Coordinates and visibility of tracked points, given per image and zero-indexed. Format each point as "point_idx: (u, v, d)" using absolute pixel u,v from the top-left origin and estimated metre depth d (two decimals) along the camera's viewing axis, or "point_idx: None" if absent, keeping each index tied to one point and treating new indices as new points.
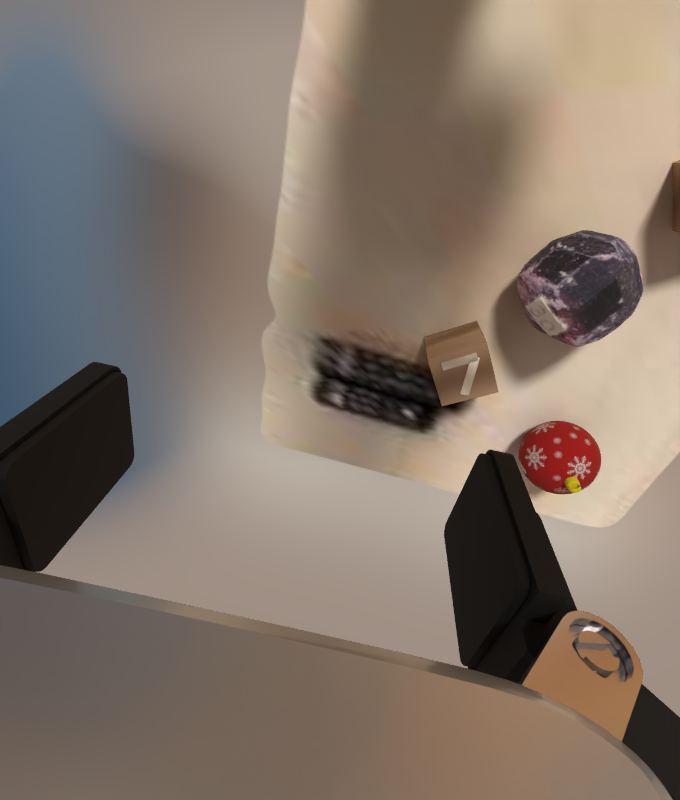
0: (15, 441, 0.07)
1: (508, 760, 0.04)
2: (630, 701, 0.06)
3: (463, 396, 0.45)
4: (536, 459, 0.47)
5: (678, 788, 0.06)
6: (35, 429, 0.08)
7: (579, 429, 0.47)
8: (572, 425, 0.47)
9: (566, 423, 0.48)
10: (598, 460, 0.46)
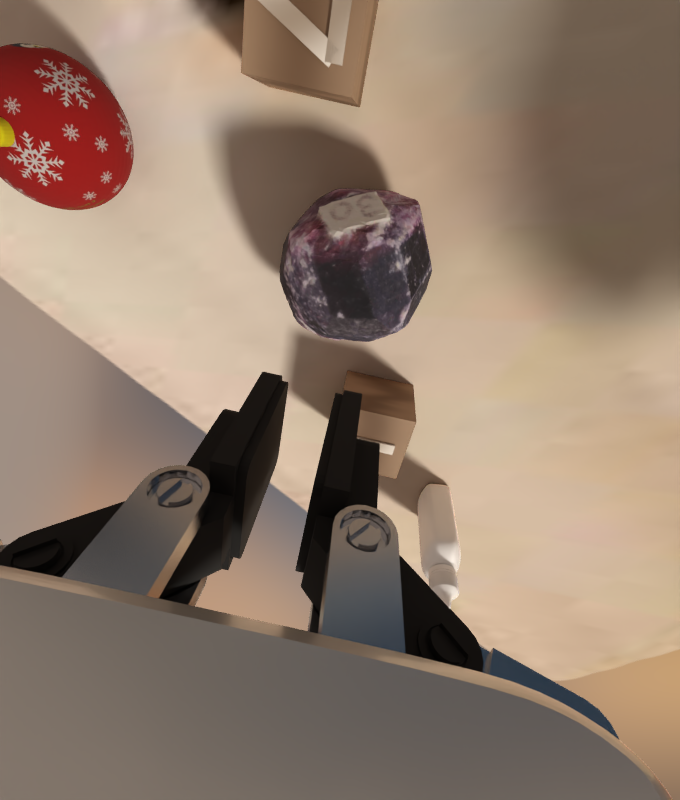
0: (247, 443, 0.08)
1: (508, 759, 0.04)
2: (396, 556, 0.07)
3: None
4: (60, 82, 0.22)
5: None
6: (253, 433, 0.09)
7: (113, 192, 0.27)
8: (122, 184, 0.28)
9: (127, 176, 0.28)
10: (47, 200, 0.26)
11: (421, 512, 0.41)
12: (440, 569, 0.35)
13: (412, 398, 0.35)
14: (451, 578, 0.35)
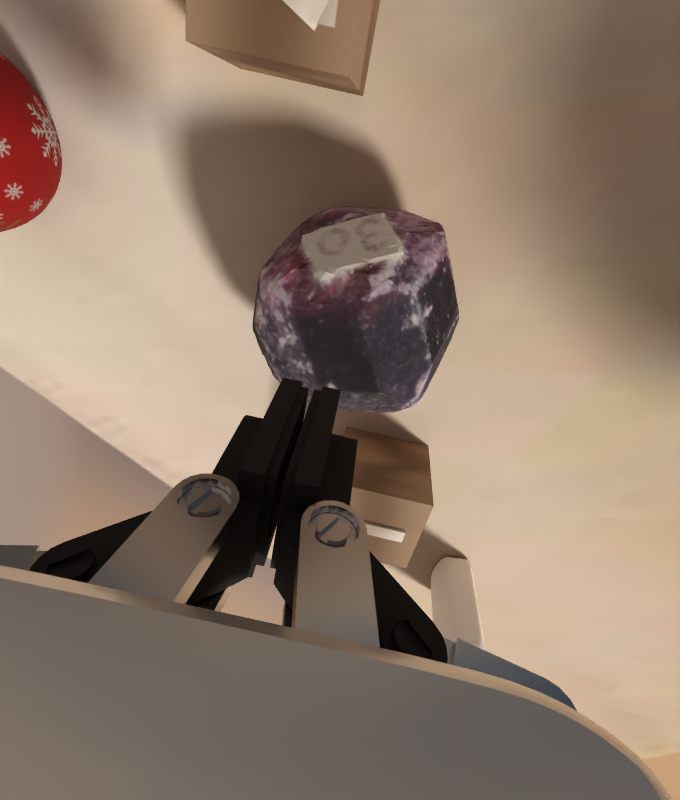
0: (274, 451, 0.08)
1: (508, 760, 0.04)
2: (366, 549, 0.07)
3: None
4: None
5: None
6: (279, 440, 0.09)
7: (31, 210, 0.20)
8: (44, 199, 0.21)
9: (52, 189, 0.21)
10: None
11: (436, 594, 0.34)
12: None
13: (427, 467, 0.28)
14: None
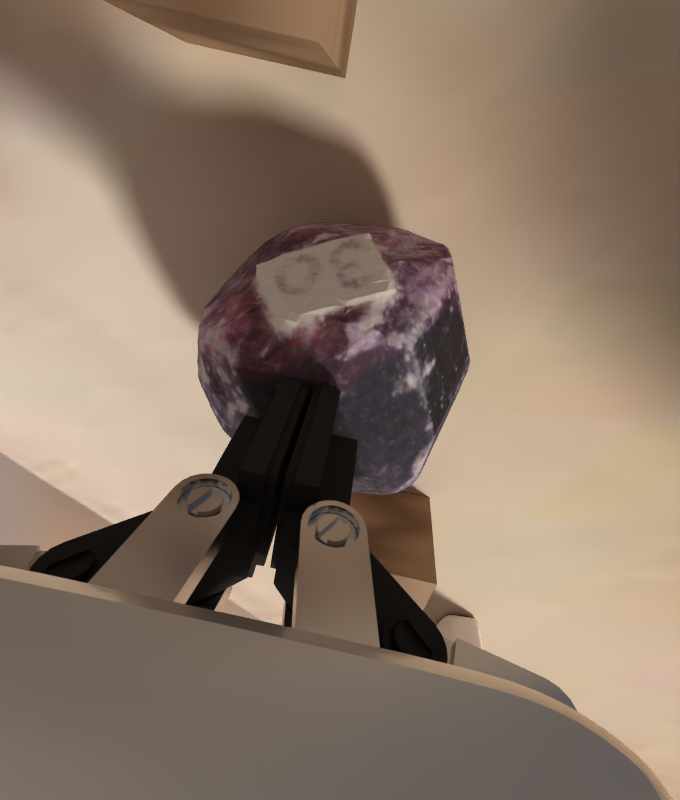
0: (274, 451, 0.08)
1: (508, 759, 0.04)
2: (366, 549, 0.07)
3: None
4: None
5: None
6: (278, 440, 0.09)
7: None
8: None
9: None
10: None
11: None
12: None
13: (429, 527, 0.23)
14: None
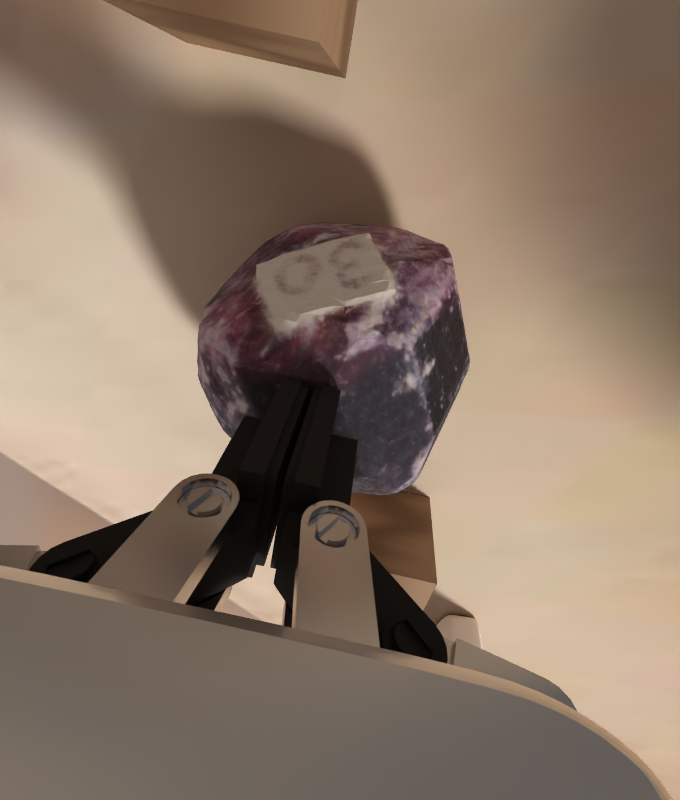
0: (273, 451, 0.08)
1: (508, 760, 0.04)
2: (366, 549, 0.07)
3: None
4: None
5: None
6: (278, 440, 0.09)
7: None
8: None
9: None
10: None
11: None
12: None
13: (429, 527, 0.23)
14: None
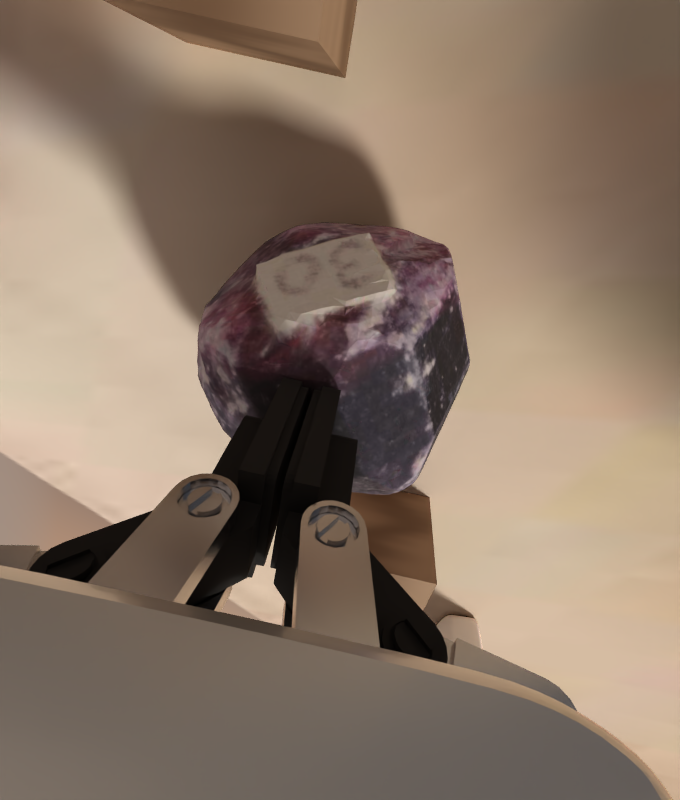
0: (273, 451, 0.08)
1: (508, 760, 0.04)
2: (366, 549, 0.07)
3: None
4: None
5: None
6: (278, 440, 0.09)
7: None
8: None
9: None
10: None
11: None
12: None
13: (429, 527, 0.23)
14: None
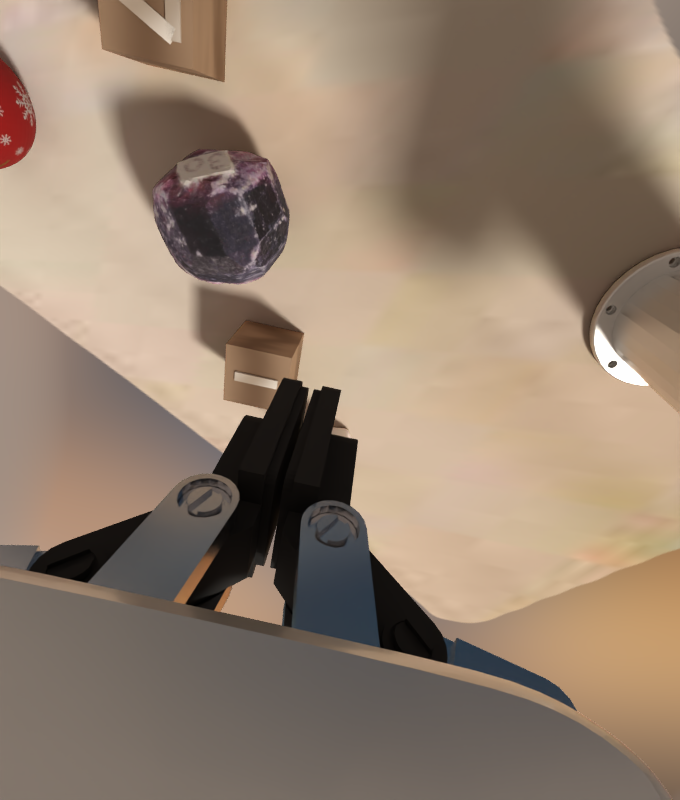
0: (274, 451, 0.08)
1: (508, 760, 0.04)
2: (366, 549, 0.07)
3: None
4: None
5: None
6: (278, 440, 0.09)
7: (16, 154, 0.32)
8: (25, 147, 0.32)
9: (30, 141, 0.33)
10: None
11: None
12: None
13: (297, 342, 0.40)
14: None
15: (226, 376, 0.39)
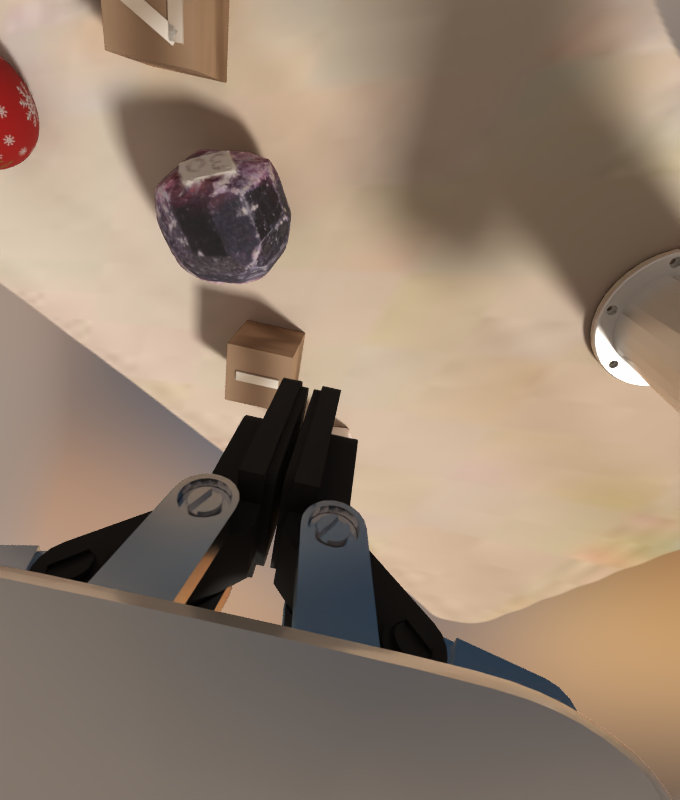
0: (273, 451, 0.08)
1: (508, 759, 0.04)
2: (366, 549, 0.07)
3: None
4: None
5: None
6: (278, 440, 0.09)
7: (19, 154, 0.32)
8: (28, 148, 0.33)
9: (33, 142, 0.33)
10: None
11: None
12: None
13: (299, 342, 0.40)
14: None
15: (227, 375, 0.39)
